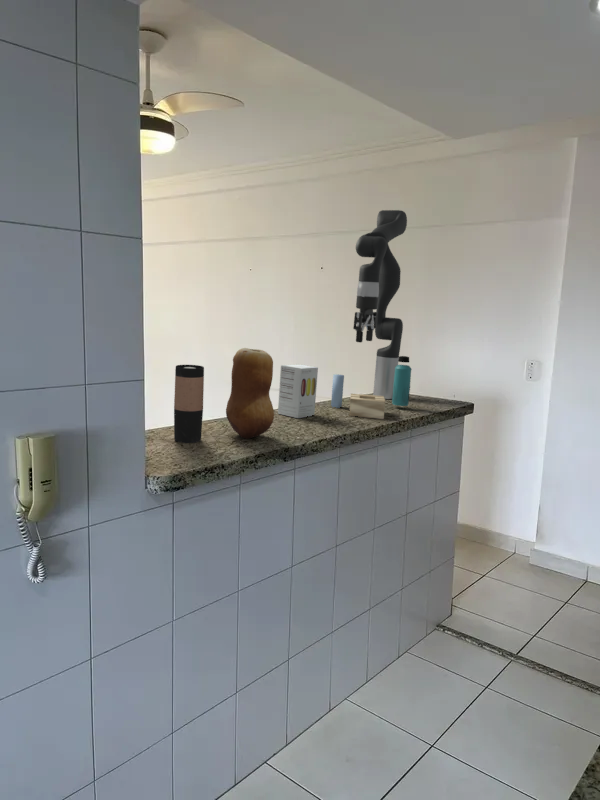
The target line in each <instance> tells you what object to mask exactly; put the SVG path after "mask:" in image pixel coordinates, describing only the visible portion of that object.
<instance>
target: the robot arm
mask: <svg viewBox="0 0 600 800" xmlns="http://www.w3.org/2000/svg"><path fill="white" fill-rule="evenodd" d="M407 226H408V218H407V214H406V212H405V211H404V210H401V209H395V210H393V209H389V210H388V209H385V210H383V209H382V210H380V211H378V214H377V218H376V227H375V228H374V229H373V230H372V231H371V232H366V233H365V234H362V235H361V236H360V237H359V238H358V239H357V241H356V243H355V250H356V251H355V252H356V254H357V255H358V256H359V257H362V258H374V259H373V260H372V262H370V263H366V264H365V263H364V264H362V265H360V266H359V271H358V272H359V273H358V284H357V291H356V301H355V302H356V304H355V308H356V309H359V311H355V312H354V319H353V327H352V328H353V330H355V331H356V335H355V342H357V343H363V339H364V338H363V337H364V329H365V328H366V334H365V335H366V336H365V341H367V342H372V341H373V337H374V336H373V334H375V337H376V339H378V340H384V341H390V343H389V345H387V346H385V347H381V348H378V349H377V350H376V360H375V369H374V370H375V371H374V382H373V394H372V395H377V396H384V399H385V400H392V398H393V396H392V395H393V393H392V392H393V384H394V375H395V367H396V366H397V365H399V362H398V360H399V356H400V352H401V343H402V337H403V329H404V328H403V327H404V325H403V324H404V323H403V320H402V319H401V318H397V317H387V316H386V313H387V309H388V306H389V305H390V303H391V301H392V299H393V298H394V297H395V296H396V293H397V292H398V291H399V288H400V286H401V273H402V272H401V267H400V265H399V262H398V261H397V259H396V258H395V256H394V254H393V253H392V251H391V249H390V245H389V242H391V241H392V240H393V239H395V238H397V237H400V236H401V235H403V234H404V233H405V231H406V230H407V229H406V228H407ZM374 310H376V311H374Z"/></svg>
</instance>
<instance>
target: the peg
mask: <svg viewBox="0 0 600 800" xmlns="http://www.w3.org/2000/svg"><path fill="white" fill-rule="evenodd" d="M344 383H345V375H343V374H337V373H335V374H333V376H332V386H331V387H332V388H331V401H330V402H331V403H330V407H331V406H332V407H331V408H333V407H336V408H335V409H341V408H340V407H342V406H343V396H344V395H343V394H344Z"/></svg>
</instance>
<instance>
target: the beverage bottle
mask: <svg viewBox="0 0 600 800" xmlns="http://www.w3.org/2000/svg"><path fill="white" fill-rule="evenodd" d="M398 363H410V356H405V355H399V360H398ZM411 377H412V368H411V366H410V365H407V364H398V365H397V366H396V367H395V375H394V384H393V392H392V393H393V395H392V396H393V398H392V399H391V404H392V405H394V406H401V407H408V405H409V403H410V402H409V401H410V393H411V379H412V378H411Z"/></svg>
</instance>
